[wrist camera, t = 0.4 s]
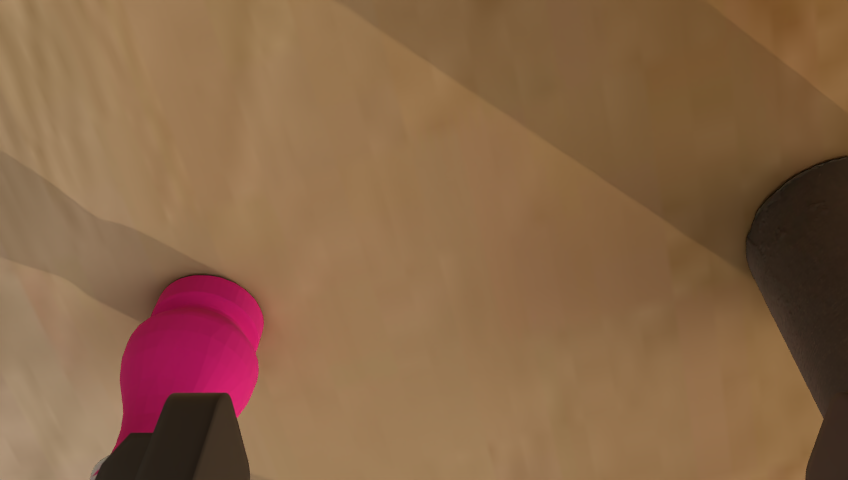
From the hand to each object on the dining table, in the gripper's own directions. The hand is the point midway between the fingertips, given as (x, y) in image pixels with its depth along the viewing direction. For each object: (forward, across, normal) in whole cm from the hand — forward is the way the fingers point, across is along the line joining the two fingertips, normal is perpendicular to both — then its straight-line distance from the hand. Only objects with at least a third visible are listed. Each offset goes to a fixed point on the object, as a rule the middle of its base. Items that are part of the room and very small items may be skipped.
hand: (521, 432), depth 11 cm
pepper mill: (+28, +16, +22) cm, 40 cm away
